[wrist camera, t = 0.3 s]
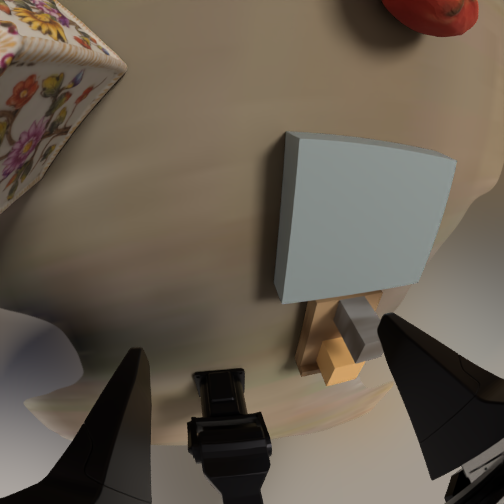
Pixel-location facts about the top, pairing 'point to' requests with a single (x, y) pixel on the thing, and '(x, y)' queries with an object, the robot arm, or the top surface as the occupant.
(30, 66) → the decorative jar
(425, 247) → the pale grey flat slab
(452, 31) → the tomato
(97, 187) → the top surface
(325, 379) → the orange cube
